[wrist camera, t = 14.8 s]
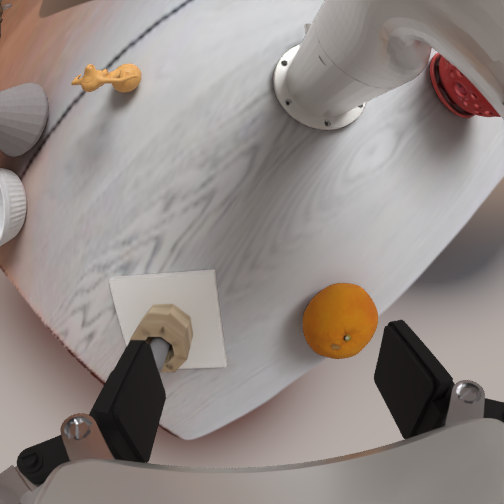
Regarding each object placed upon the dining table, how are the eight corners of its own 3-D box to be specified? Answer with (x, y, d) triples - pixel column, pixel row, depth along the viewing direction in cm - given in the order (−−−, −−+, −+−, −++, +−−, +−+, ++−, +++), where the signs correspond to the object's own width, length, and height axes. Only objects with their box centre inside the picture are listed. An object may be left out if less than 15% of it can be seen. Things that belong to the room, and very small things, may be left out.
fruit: (282, 310, 40) (291, 340, 32) (339, 261, 39) (362, 282, 31) (323, 351, 42) (338, 383, 35) (376, 308, 41) (399, 334, 33)
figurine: (163, 69, 31) (134, 32, 19) (153, 111, 32) (117, 86, 20) (108, 69, 30) (66, 40, 18) (98, 109, 31) (50, 91, 20)
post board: (112, 276, 38) (78, 307, 27) (215, 269, 38) (207, 303, 28) (136, 362, 42) (116, 405, 31) (227, 361, 42) (225, 409, 32)
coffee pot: (50, 155, 32) (-21, 156, 18) (4, 157, 31) (-60, 162, 17) (80, 27, 27) (30, -12, 12) (30, 40, 26) (-21, 15, 12)
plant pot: (478, 130, 34) (528, 128, 22) (424, 108, 33) (476, 95, 21) (472, 65, 30) (516, 52, 19) (418, 38, 30) (461, 12, 18)
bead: (139, 304, 37) (125, 325, 31) (188, 303, 37) (180, 325, 32) (149, 346, 39) (138, 371, 33) (195, 346, 39) (189, 372, 34)
